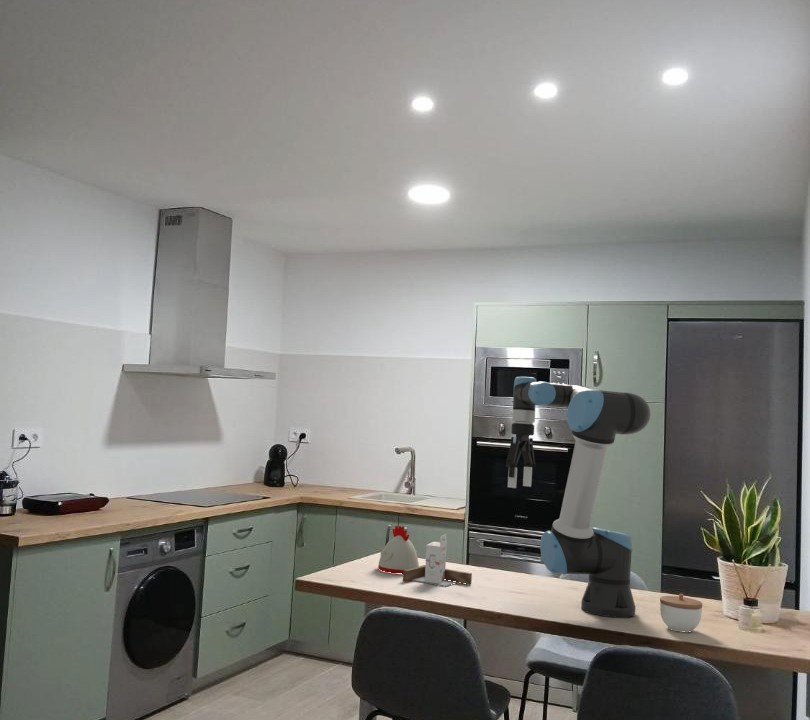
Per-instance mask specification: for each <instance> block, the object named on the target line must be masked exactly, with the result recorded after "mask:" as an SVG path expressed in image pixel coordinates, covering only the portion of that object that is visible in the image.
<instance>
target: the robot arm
mask: <svg viewBox="0 0 810 720" xmlns="http://www.w3.org/2000/svg"><path fill="white" fill-rule="evenodd" d="M536 406H540V407H541V406H542V407H543V406H544V407H552V408H553V407H555V408H556V407H557V408H566V409H567V410H566V411H567V412H566V417H567V420H566V422H567V425H568V427H569V430H571V435H572V436H573V438H574V440H575V441H574V442H575V443H574V447H573V453H572V457H571V462H570V465H569V466H570V467H569V471H568V475H567V481H566V485H565V490H564V495H563V498H562V504H561V510H560V514H559V518H558V519H555V520H554V521H553V523H552V526H551V530H546V531H544V532H543V533H542V535H541V538H540V544H539V545H540V547H539V548H540V549H539V550H540V554H541V559H542V561H543V565H545V568H546V569H547V570H548V571H549V572H550V573H553V574H561V575H588V582H587V585H586V588H585V590H584V593H583V595H582V598H581V602H580V603H581V606H580V608H581V610H583V611H584V612H587V613H589V614H593V615H595V616H596V615H598V616H602V617H609V618H622V617H623V618H632V617H634V615H635V616H636V605H635V600H634V597H633V593H632V589H631V571H632V570H631V568H632V552H633V548H632V547H633V546H632V543H633V542H632V538H631V536H630V535H629V534H628V533H623V532H620V531H616V530H615V531H614V530H610V529H607V528H606V529H605V528H600V527H595V526H593V527H591V523H592V517H593V513H594V507H595V504H596V499H597V493H598V489H599V485H600V481H601V476H602V471H603V467H604V464H605V463H604V462H605V459H606V458H605V457H606V454H607V449H608V447H610V446H612V445H613V444H614V443H615V439H616V435H635V434H637V433H639V432H641V431H642V430H644V429H645V428H646V427H647V426H648V424H649V422H650V419H651V408H650V405H649V404H648V402H647V401H646V400H645V399H644V398H643V397H642V396H640V395H638V394H636V393H632V392H619V391H612V390H602V389H598V388H596V389H595V388H594V389H592V388H590V387H589V386H584V385H579V384H578V385H574V384H573V385H572V384H563V383H562V384H561V383H552V382H547V381H537V378H535V377H532V376H516V377H515V379H514V381H513V394H512V412H511V413H510V414H511V416H512V417H511V419H512V420H511V421H512V422H513V423H512V424H511V429H510V430H511V434H512V435H515V436H511V438H510V445H509V449H508V452H507V458H506V461H505V467H506V468H508V473H507V474H508V475H507V488H512V489H517V481H518V480H517V479H518V467H517V465H518V463H519V460H520V457H521V454H522V458H523V462H524V466H523V478H522V486H523V487H529V488H531V487H532V481H533V478H532V477H533V468H535V467H536V459H535V451H534V440H533V437H530V436H534V435H535V425H534V423H535V422H536ZM631 616H632V617H631ZM623 618H622V619H623Z"/></svg>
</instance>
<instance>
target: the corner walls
mask: <svg viewBox="0 0 810 720" xmlns="http://www.w3.org/2000/svg"><path fill="white" fill-rule="evenodd" d="M425 566H426V564H423V565H419V567H415V568H411V569H407V570H403V575H402V582H403V583H410V582H413V581H412V579H416V578H420V577H423V576H425ZM472 575H473V572H468V571H462V570H461V571H460V570H456V569H455V570H454V569H449V568H445V579H446V580H451V581H456V582H461V583H466V584H465V585H467V584H471V585H472V580H473V578H472V577H473V576H472ZM409 581H410V582H409ZM461 583H460V584H461Z"/></svg>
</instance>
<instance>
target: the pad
mask: <svg viewBox="0 0 810 720" xmlns="http://www.w3.org/2000/svg"><path fill="white" fill-rule="evenodd" d="M412 580H413V581H412V582H416V581H417V582H416V583H421V582H423V583H422V584H427V583H429V584H428V585H432V584H435V585H434V586H437V585H440V586H439V587H443V586H447V587H449V586H448V585H450V586H452V585H451V584H453V583H456V584H458V583H457V582H453V581H448V580H443V581H441V582H440V583H430V582H425V576H423V577H420V578H416V579H412ZM453 585H454V584H453Z"/></svg>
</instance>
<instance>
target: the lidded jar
mask: <svg viewBox="0 0 810 720" xmlns="http://www.w3.org/2000/svg"><path fill="white" fill-rule="evenodd" d="M659 606H660V607H659V610H660V616H661V618H662V621H663V623H664V624H665V625H666V626H667V629H668V628H669V629H668V630H670V629H672V630H675V631H674V632H676V631H685V632H689V631H692V632H693V630H695V629H696V628H697V627H698V626H699V624H700V622H701V618H702V611H703V609H702V608H703V603H702V602H701V601H699V600H697V599H696V598H695V599H694V598H690V597H685V596H684V594H683V593H679V594H678V596H677V595H663V596H660V597H659ZM672 630H671V631H672Z"/></svg>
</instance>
